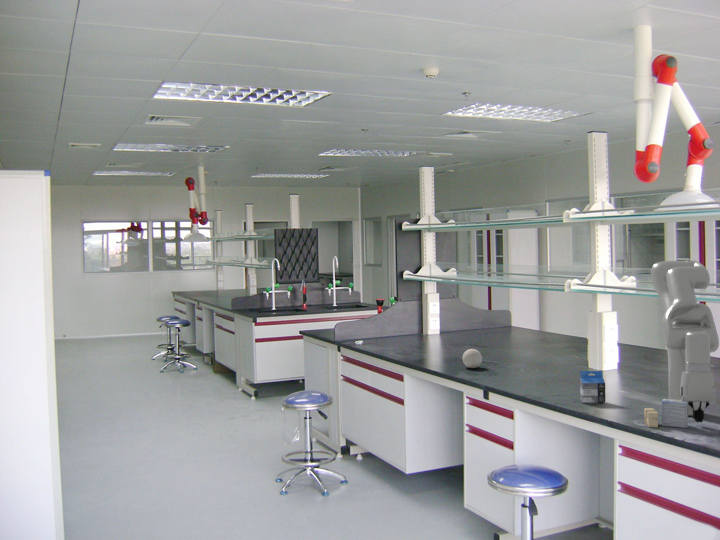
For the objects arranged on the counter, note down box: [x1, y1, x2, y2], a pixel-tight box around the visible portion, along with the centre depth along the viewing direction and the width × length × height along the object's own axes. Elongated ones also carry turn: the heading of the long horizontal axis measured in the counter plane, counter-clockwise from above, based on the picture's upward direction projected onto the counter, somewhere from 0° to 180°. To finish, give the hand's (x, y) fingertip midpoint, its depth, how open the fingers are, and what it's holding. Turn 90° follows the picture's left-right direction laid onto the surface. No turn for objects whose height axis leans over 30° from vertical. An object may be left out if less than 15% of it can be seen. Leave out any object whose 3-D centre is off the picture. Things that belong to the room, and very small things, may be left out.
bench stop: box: [643, 407, 659, 428], centre depth 222 cm, size 6×3×5 cm, turn 169°
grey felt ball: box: [462, 348, 483, 369], centre depth 335 cm, size 10×10×10 cm
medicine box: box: [661, 398, 689, 429], centre depth 220 cm, size 8×4×9 cm, turn 61°
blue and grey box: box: [579, 370, 606, 404], centre depth 255 cm, size 9×4×12 cm, turn 84°
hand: (698, 421), depth 219 cm, fingers closed
